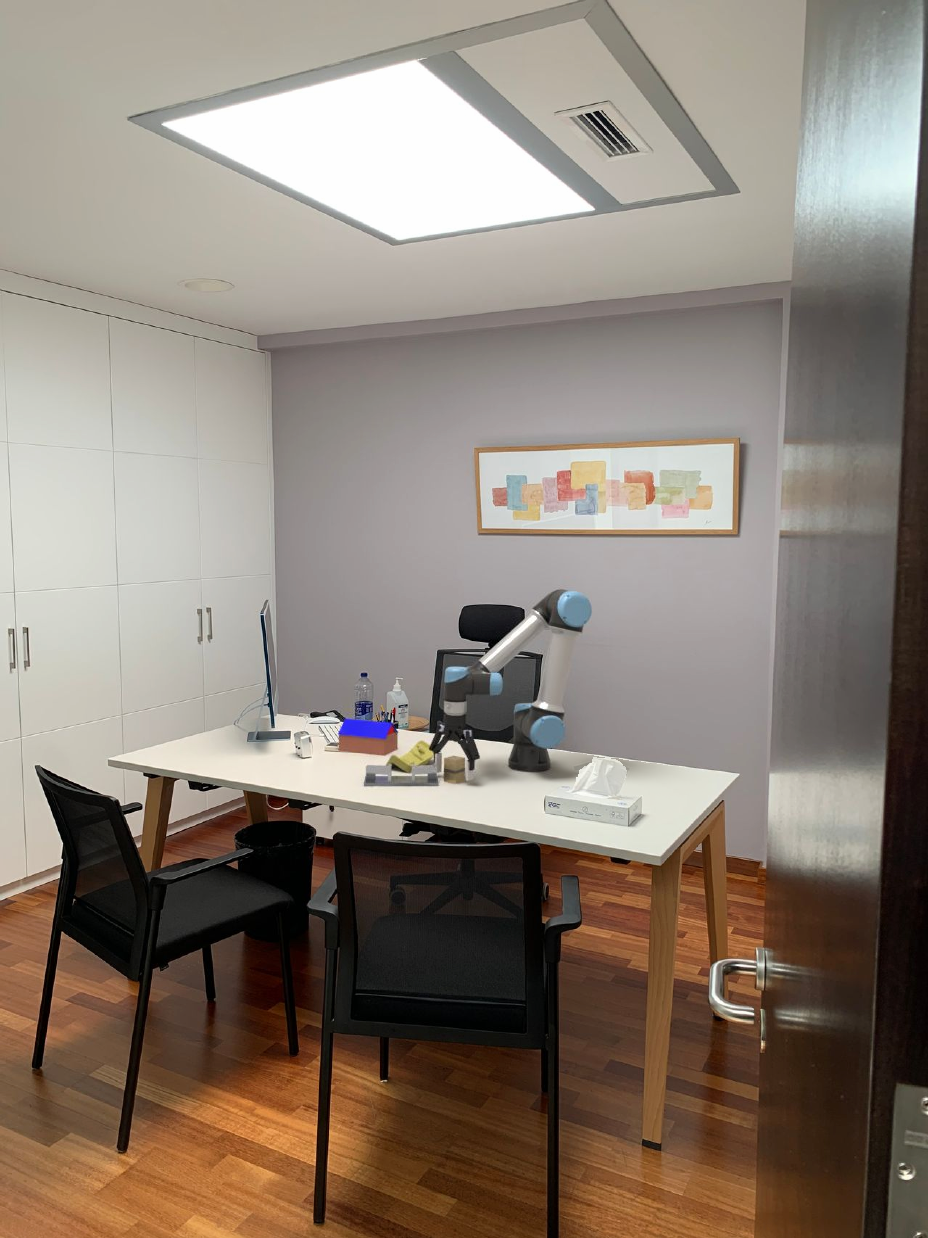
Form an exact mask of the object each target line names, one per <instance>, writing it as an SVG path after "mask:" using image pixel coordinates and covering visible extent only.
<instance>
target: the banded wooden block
mask: <svg viewBox="0 0 928 1238" xmlns="http://www.w3.org/2000/svg"><path fill="white" fill-rule="evenodd" d="M443 782H444V783H448V784H453V785H457V784H460V783H463V782H466V757H463V756H459V755H458V756H457V755H450V756H447V757H444V758H443Z"/></svg>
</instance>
